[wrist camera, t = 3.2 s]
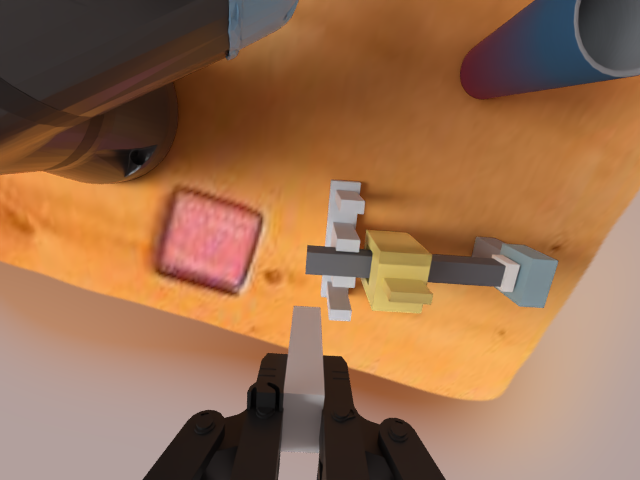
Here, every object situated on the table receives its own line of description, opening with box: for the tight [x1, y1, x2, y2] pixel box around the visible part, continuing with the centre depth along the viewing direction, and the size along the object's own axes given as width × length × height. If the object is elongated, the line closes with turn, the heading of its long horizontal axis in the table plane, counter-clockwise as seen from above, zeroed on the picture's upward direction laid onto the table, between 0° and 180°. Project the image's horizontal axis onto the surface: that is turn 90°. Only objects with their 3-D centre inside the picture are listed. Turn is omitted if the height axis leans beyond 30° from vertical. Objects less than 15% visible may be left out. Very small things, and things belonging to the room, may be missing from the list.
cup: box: [460, 0, 640, 99], centre depth 23 cm, size 7×7×15 cm
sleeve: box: [360, 230, 433, 313], centre depth 26 cm, size 4×5×9 cm
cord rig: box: [306, 180, 558, 321], centre depth 31 cm, size 21×13×9 cm, turn 85°
